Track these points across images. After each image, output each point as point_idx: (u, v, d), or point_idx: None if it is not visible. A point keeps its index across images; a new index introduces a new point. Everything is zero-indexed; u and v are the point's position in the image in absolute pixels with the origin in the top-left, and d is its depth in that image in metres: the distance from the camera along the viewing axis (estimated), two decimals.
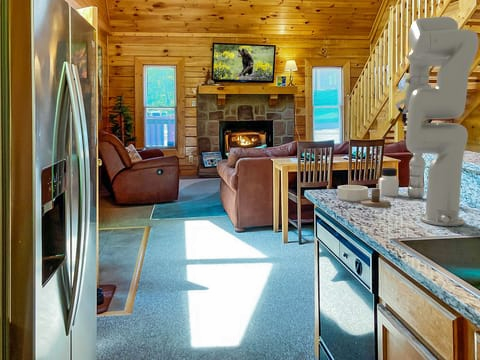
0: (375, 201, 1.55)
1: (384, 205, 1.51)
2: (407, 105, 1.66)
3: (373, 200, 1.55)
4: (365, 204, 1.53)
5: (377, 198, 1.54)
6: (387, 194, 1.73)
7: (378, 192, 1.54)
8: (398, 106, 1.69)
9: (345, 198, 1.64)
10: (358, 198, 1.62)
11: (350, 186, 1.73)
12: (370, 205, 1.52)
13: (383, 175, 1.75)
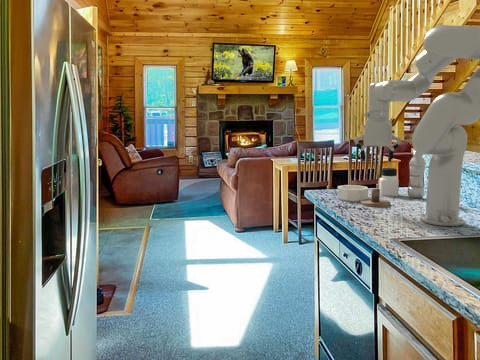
0: (375, 201, 1.55)
1: (384, 205, 1.51)
2: (365, 142, 1.51)
3: (373, 200, 1.55)
4: (365, 204, 1.53)
5: (377, 198, 1.54)
6: (387, 194, 1.73)
7: (378, 192, 1.54)
8: (356, 142, 1.54)
9: (345, 198, 1.64)
10: (358, 198, 1.62)
11: (350, 186, 1.73)
12: (370, 205, 1.52)
13: (383, 175, 1.75)
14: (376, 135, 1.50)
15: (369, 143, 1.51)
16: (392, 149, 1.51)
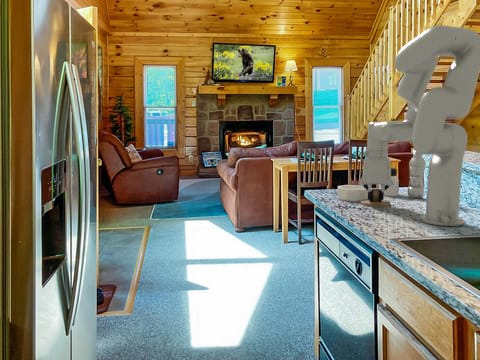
0: (375, 201, 1.55)
1: (384, 205, 1.51)
2: (364, 180, 1.53)
3: (373, 200, 1.55)
4: (365, 204, 1.53)
5: (377, 198, 1.54)
6: (387, 194, 1.73)
7: (378, 192, 1.54)
8: (362, 184, 1.56)
9: (345, 198, 1.64)
10: (358, 198, 1.62)
11: (350, 186, 1.73)
12: (370, 205, 1.52)
13: None
14: (375, 173, 1.52)
15: (368, 181, 1.53)
16: (383, 190, 1.54)
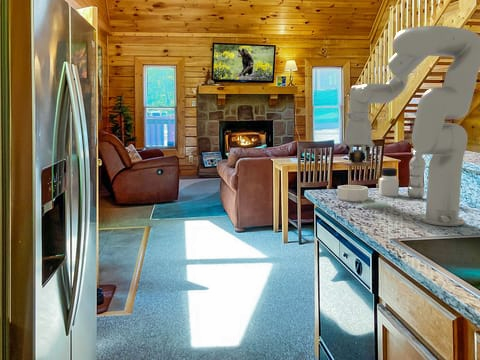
0: (356, 161, 1.63)
1: (364, 164, 1.59)
2: (346, 141, 1.61)
3: (355, 160, 1.63)
4: (347, 164, 1.62)
5: (358, 158, 1.63)
6: (387, 194, 1.73)
7: (359, 153, 1.62)
8: (344, 146, 1.64)
9: (345, 198, 1.64)
10: (358, 198, 1.62)
11: (350, 186, 1.73)
12: (351, 164, 1.60)
13: (383, 175, 1.75)
14: (356, 135, 1.60)
15: (350, 142, 1.61)
16: (364, 151, 1.62)
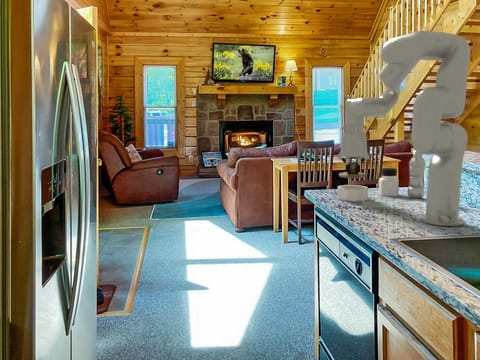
0: (352, 173, 1.66)
1: (360, 176, 1.62)
2: (342, 153, 1.64)
3: (350, 172, 1.66)
4: (343, 176, 1.65)
5: (354, 170, 1.66)
6: (387, 194, 1.73)
7: (355, 165, 1.65)
8: (340, 158, 1.67)
9: (345, 198, 1.64)
10: (358, 198, 1.62)
11: (350, 186, 1.73)
12: (347, 176, 1.63)
13: (383, 175, 1.75)
14: (352, 147, 1.63)
15: (346, 154, 1.64)
16: (359, 163, 1.65)
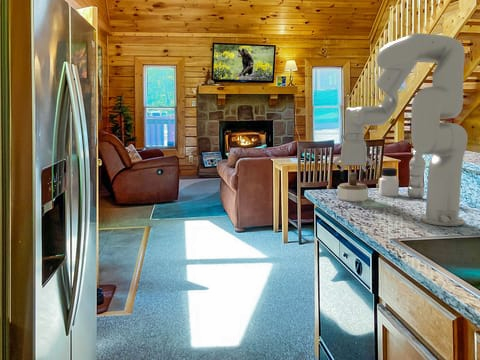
0: (352, 184, 1.66)
1: (360, 188, 1.63)
2: (342, 162, 1.65)
3: (350, 183, 1.67)
4: (343, 187, 1.65)
5: (354, 181, 1.66)
6: (387, 194, 1.73)
7: (355, 176, 1.66)
8: (336, 163, 1.67)
9: (345, 198, 1.64)
10: (358, 198, 1.62)
11: None
12: (347, 188, 1.63)
13: (383, 175, 1.75)
14: (352, 155, 1.63)
15: (346, 163, 1.64)
16: (364, 170, 1.65)
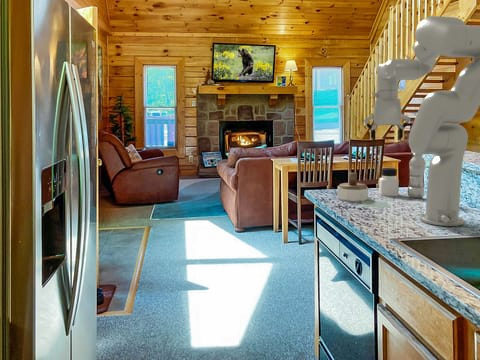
0: (352, 184, 1.66)
1: (360, 188, 1.63)
2: (376, 121, 1.56)
3: (350, 183, 1.67)
4: (343, 187, 1.65)
5: (354, 181, 1.66)
6: (387, 194, 1.73)
7: (355, 176, 1.66)
8: (366, 122, 1.58)
9: (345, 198, 1.64)
10: (358, 198, 1.62)
11: None
12: (347, 188, 1.63)
13: (383, 175, 1.75)
14: (386, 114, 1.54)
15: (379, 122, 1.55)
16: (402, 127, 1.55)
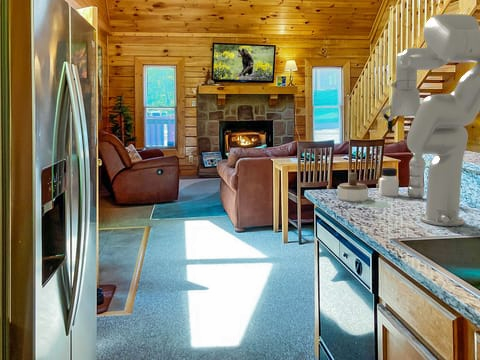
0: (352, 184, 1.66)
1: (360, 188, 1.63)
2: (393, 112, 1.52)
3: (350, 183, 1.67)
4: (343, 187, 1.65)
5: (354, 181, 1.66)
6: (387, 194, 1.73)
7: (355, 176, 1.66)
8: (383, 113, 1.55)
9: (345, 198, 1.64)
10: (358, 198, 1.62)
11: None
12: (347, 188, 1.63)
13: (383, 175, 1.75)
14: (404, 105, 1.51)
15: (397, 113, 1.52)
16: None
